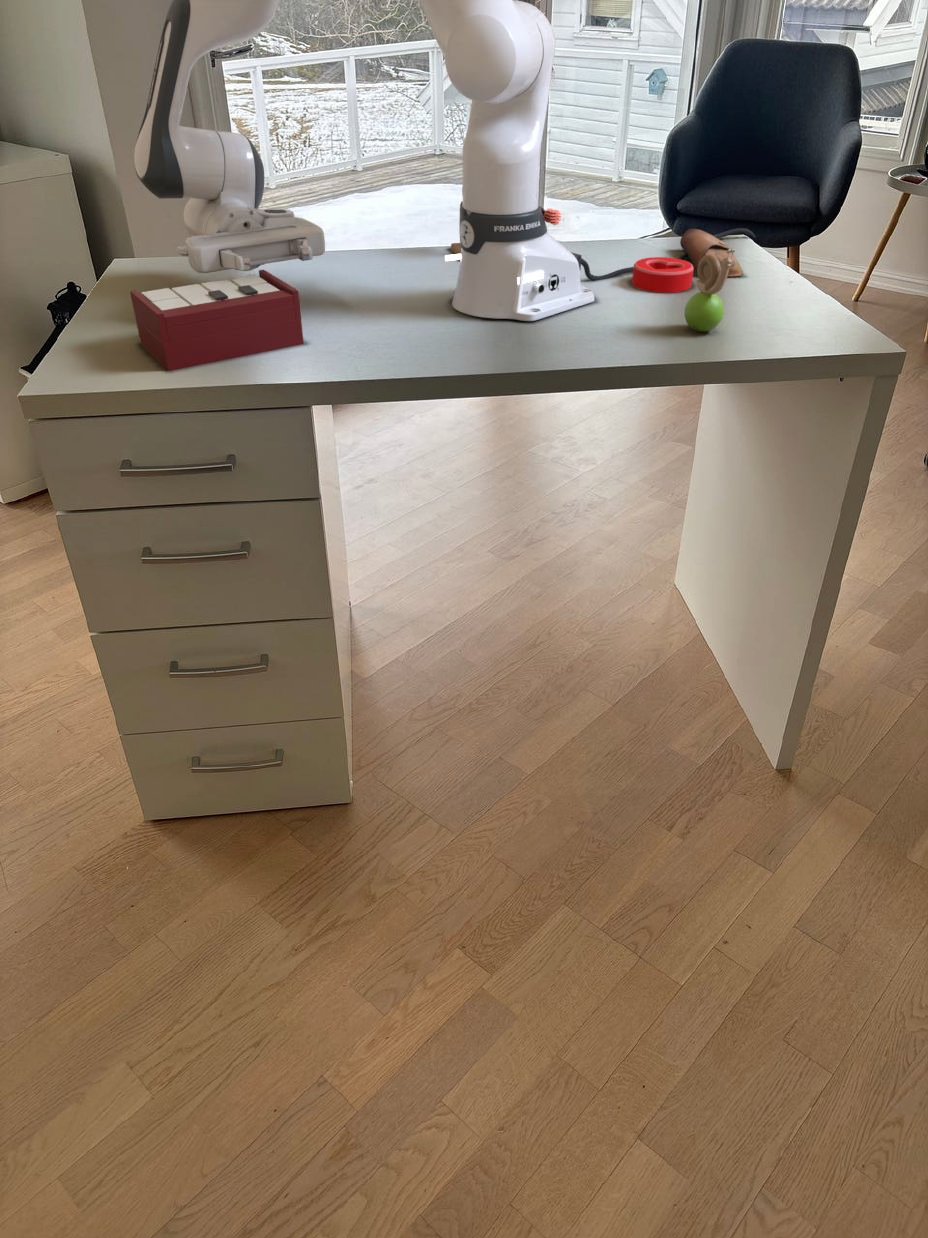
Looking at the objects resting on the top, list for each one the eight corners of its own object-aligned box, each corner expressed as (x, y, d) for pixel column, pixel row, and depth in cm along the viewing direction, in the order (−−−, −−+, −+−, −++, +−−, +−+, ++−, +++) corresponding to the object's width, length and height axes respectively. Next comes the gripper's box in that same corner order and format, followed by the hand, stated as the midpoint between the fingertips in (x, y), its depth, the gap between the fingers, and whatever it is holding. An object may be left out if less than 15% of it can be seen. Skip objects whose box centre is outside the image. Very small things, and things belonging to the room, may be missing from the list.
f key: (170, 297, 128) (168, 287, 127) (180, 306, 125) (179, 295, 124) (142, 302, 127) (140, 292, 126) (153, 311, 124) (151, 300, 123)
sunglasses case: (747, 273, 156) (732, 237, 152) (708, 295, 158) (692, 260, 154) (725, 246, 170) (711, 213, 167) (689, 266, 172) (674, 234, 169)
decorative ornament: (631, 291, 150) (633, 270, 148) (632, 274, 157) (634, 255, 156) (692, 294, 148) (694, 273, 146) (690, 277, 156) (693, 257, 154)
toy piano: (270, 320, 138) (263, 269, 133) (303, 344, 129) (298, 290, 125) (141, 344, 129) (129, 290, 125) (168, 371, 121) (157, 314, 117)
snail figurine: (702, 341, 130) (716, 251, 123) (674, 327, 135) (685, 241, 128) (733, 335, 132) (748, 247, 125) (703, 322, 137) (716, 236, 130)
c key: (256, 283, 134) (254, 273, 133) (268, 291, 131) (267, 281, 130) (231, 287, 132) (229, 277, 131) (242, 295, 129) (241, 285, 128)
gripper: (169, 224, 134) (202, 245, 125) (299, 208, 143) (339, 226, 134) (177, 270, 138) (209, 293, 128) (303, 250, 147) (342, 271, 137)
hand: (276, 259), depth 131 cm, fingers open, 8 cm apart
